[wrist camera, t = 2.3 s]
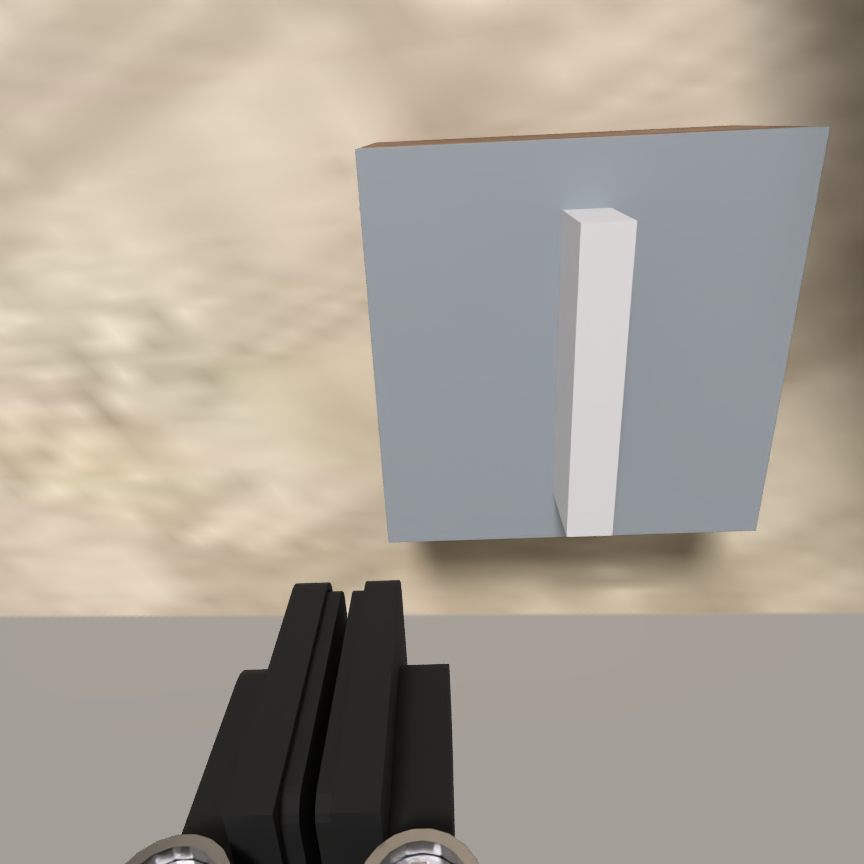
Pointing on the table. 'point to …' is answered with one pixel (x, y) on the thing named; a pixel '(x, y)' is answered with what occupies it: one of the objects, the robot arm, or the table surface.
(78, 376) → the table surface
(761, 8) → the table surface
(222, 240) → the table surface
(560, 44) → the table surface
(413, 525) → the cover
